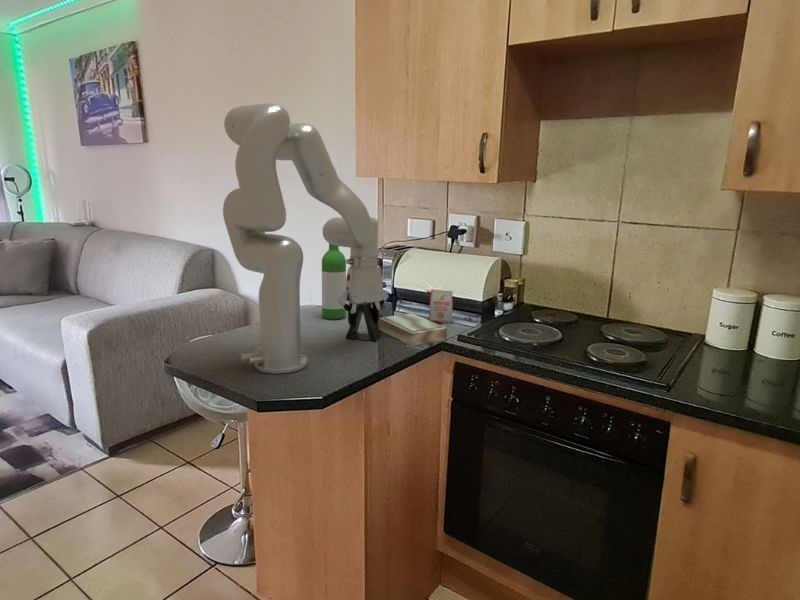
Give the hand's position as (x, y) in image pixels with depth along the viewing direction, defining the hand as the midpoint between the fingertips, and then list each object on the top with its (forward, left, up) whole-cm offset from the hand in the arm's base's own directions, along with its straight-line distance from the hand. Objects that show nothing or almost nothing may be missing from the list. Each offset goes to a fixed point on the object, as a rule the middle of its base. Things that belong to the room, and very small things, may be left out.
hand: (363, 323), depth 152 cm
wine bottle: (+2, +24, -4) cm, 24 cm away
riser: (+14, -4, -4) cm, 15 cm away
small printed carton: (+31, +5, -4) cm, 32 cm away
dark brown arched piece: (0, 0, -4) cm, 4 cm away
